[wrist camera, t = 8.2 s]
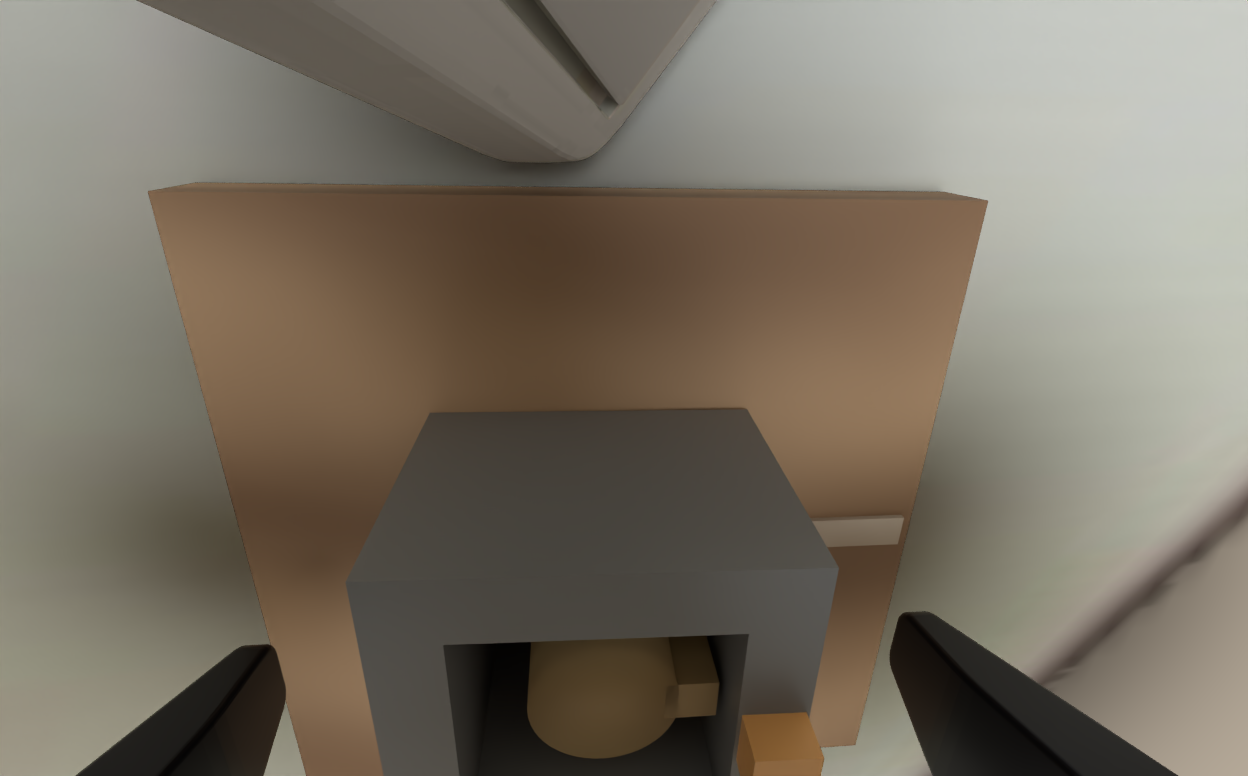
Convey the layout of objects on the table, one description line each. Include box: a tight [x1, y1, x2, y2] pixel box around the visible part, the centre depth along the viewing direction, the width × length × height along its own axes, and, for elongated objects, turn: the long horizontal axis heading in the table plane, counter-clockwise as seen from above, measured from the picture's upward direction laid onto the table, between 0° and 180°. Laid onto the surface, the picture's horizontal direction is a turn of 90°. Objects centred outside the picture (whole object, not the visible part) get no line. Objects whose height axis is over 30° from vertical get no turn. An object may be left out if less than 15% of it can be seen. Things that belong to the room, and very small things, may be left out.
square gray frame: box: [345, 409, 839, 776], centre depth 9 cm, size 5×5×5 cm
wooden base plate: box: [148, 183, 988, 776], centre depth 10 cm, size 12×12×5 cm
